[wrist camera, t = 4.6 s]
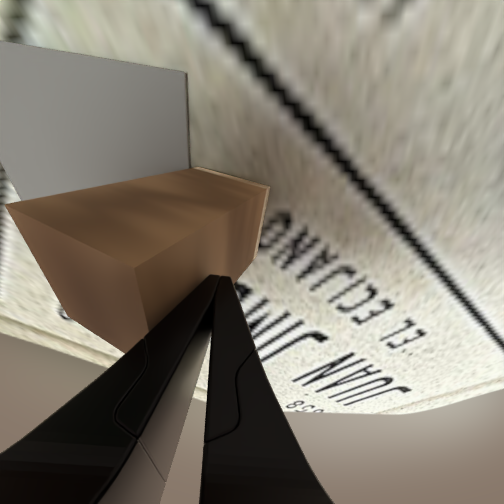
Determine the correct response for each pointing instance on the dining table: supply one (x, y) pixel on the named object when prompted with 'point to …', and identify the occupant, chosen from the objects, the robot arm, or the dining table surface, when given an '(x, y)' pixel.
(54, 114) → the mat
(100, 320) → the block
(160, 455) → the robot arm
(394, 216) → the dining table surface
